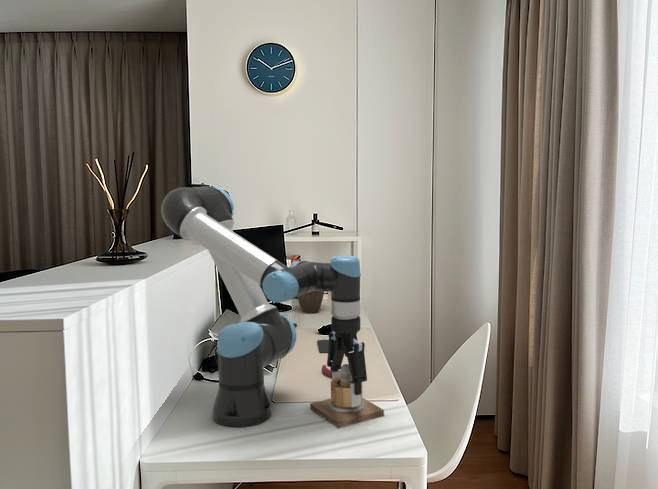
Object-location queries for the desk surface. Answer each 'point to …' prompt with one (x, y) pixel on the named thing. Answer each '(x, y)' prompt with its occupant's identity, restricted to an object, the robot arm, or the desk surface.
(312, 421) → the desk surface
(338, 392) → the light wood ring
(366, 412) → the bobbin stand
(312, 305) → the plant pot
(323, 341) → the phone
